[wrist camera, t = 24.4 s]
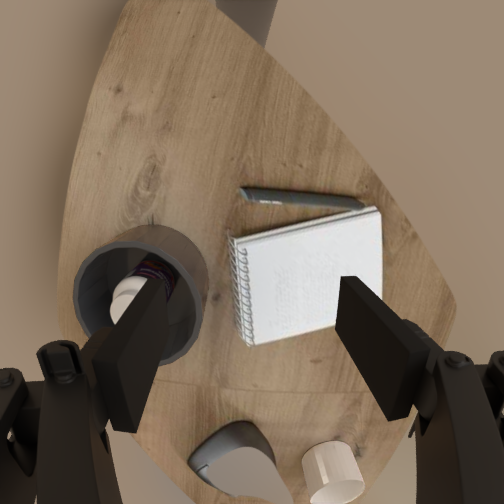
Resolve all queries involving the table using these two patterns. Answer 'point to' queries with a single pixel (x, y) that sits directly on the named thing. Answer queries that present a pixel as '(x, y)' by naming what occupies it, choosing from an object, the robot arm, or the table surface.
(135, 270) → the pill bottle
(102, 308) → the canister
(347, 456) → the mug
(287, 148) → the table surface
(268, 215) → the table surface
